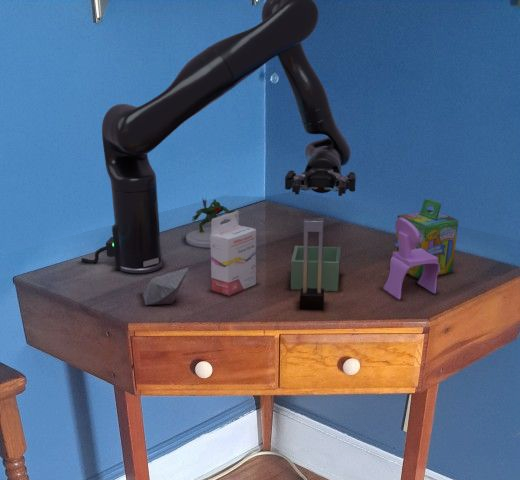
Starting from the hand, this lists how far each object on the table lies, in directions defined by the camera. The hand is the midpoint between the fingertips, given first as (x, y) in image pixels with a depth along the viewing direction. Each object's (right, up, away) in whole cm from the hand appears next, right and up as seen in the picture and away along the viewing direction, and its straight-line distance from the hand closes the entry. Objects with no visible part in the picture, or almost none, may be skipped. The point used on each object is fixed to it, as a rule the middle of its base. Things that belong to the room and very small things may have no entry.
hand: (318, 190), depth 159 cm
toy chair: (+18, -20, +2) cm, 27 cm away
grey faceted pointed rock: (-30, -22, -2) cm, 37 cm away
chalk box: (+23, -14, +12) cm, 30 cm away
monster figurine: (-23, -5, +31) cm, 39 cm away
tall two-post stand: (-2, -23, -5) cm, 24 cm away
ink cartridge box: (-17, -19, +4) cm, 26 cm away
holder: (0, -17, +6) cm, 18 cm away
